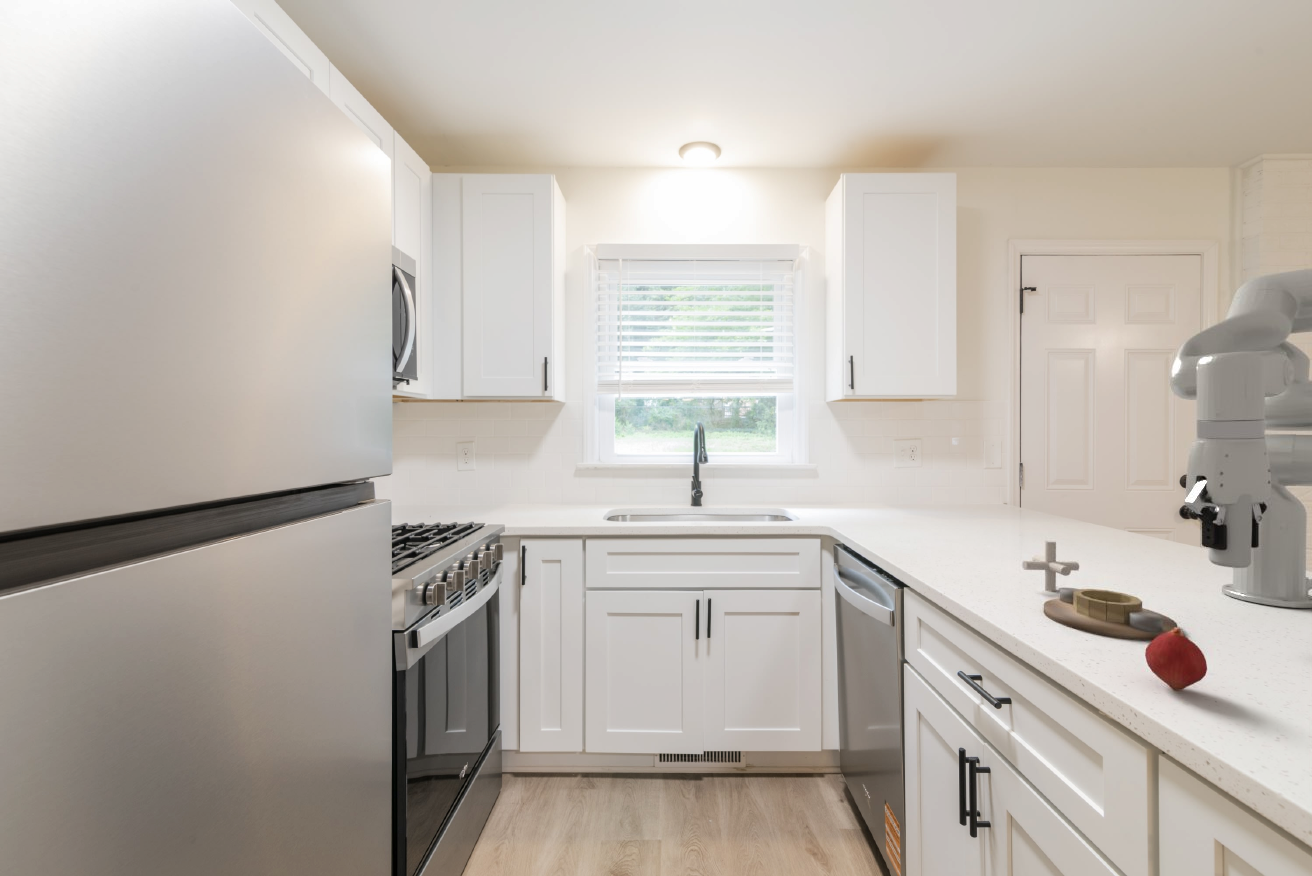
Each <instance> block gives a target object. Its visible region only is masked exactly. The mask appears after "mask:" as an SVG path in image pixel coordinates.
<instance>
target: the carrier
mask: <svg viewBox="0 0 1312 876" xmlns="http://www.w3.org/2000/svg"><path fill="white" fill-rule="evenodd" d="M1043 613H1044V615H1045V616H1046V617H1047V618H1048V619H1049V620H1052V621H1053V622H1056V623H1058V624H1060V625H1063V626H1065V625H1066V627H1068V626H1069V628H1071V627H1072V629H1074V630H1075V629H1076V630H1078V629H1079V631H1082V632H1086V633H1090V634H1096V635H1100V636H1106V637H1111V638H1118V639H1123V640H1124V639H1125V640H1134V639H1137V641H1153V640H1154V639H1155V638H1156V637H1158V636H1159V635H1161V634H1164V633H1167V632H1169V631H1171V630H1173V628H1178V623H1177V622H1176V621H1175V620H1173V619H1172V618H1171V617H1168V616H1166V615H1164V614H1162V613H1159V612H1156V611H1153V610H1149V609H1147V608H1143V600H1141V599H1140V598H1139V597H1137V596H1133V595H1131V594H1127V593H1123V592H1119V591H1113V590H1107V589H1098V588H1097V589H1096V588H1081V589H1080V588H1075V587H1060V588H1059V597H1058V598H1052V599H1049V600H1046V601H1045V602H1044V603H1043ZM1138 639H1140V640H1138Z"/></svg>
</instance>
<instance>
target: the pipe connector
mask: <svg viewBox="0 0 1312 876" xmlns="http://www.w3.org/2000/svg"><path fill="white" fill-rule="evenodd" d="M1044 543H1045V545H1044V557H1042V556H1041V555H1037V554H1036V555H1034V556H1033V557H1032V560H1023V561H1022V564H1021V565H1022V566H1021V567H1022V568H1023V570H1027V571H1044V590H1045V591H1049V592H1056V590H1057V589H1056V588H1057V585H1056V584H1057V574H1060V575H1061V576H1065V577H1068V576H1069V575H1071V572H1072V571H1079V569H1080V564H1079V562H1078V561H1065V560H1064V561H1063V560H1062V561H1060V560H1059V561H1058V560H1057V541H1054V540H1045V541H1044Z"/></svg>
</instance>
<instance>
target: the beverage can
mask: <svg viewBox="0 0 1312 876" xmlns="http://www.w3.org/2000/svg"><path fill="white" fill-rule="evenodd" d="M1211 500H1212V499H1210V503H1213V502H1212V501H1211ZM1215 509H1216V508H1213V507H1211V508H1210V510H1211V511H1212V512H1213V513H1215ZM1222 524H1223V525H1227V549H1226V550H1217V549H1213V548H1208V547H1207V548H1208V553H1207V554H1208V560H1209V561H1210V562H1211V563H1212V564H1213V565H1216V566H1218V567H1219V566H1220V567H1225V568H1232V569H1233V568H1246V567H1248V566H1249V565H1250V564H1251V539H1252V499H1251V495H1250V494H1243V495H1241V496H1240V497H1239V499H1238V501H1237V503H1236V504H1233V505H1228V506H1227V508H1226V512H1225V516H1224V520H1223V523H1222Z"/></svg>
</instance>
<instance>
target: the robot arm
mask: <svg viewBox="0 0 1312 876" xmlns="http://www.w3.org/2000/svg"><path fill="white" fill-rule="evenodd" d="M1300 333H1312V267H1311V268H1303V269H1298V270H1292V271H1286V272H1285V271H1284V272H1278V273H1271V274H1266V275H1261V276H1259V277H1258V276H1257V277H1255V278H1252V279H1250V280H1248V281H1245V282H1244V283H1243V284H1242V285H1241V286H1240V287H1239V288H1238V289H1237V291H1236V292H1235V294H1234V295H1233V299H1232V301H1231V304H1230V306H1229V308H1228V313H1227V315H1226V317H1225V319H1223V320H1222V321H1219V322H1217V323H1215V324H1213V325H1211V326H1210V327H1208V328H1205V329H1204V330H1202V331H1199V332H1198V333H1196V334H1195V335H1192V336H1191V337H1190V338H1188V339H1186V341H1185V342H1184V343H1183V344H1181V346H1180V348H1179V349H1178V352H1177V354H1176V356H1175V358H1174V360H1173V362H1172V366H1171V369H1170V373H1169V385H1170V388H1171V390H1172V393H1173V394H1175V396H1177V397H1178V398H1181V399H1183V400H1190V401H1194V400H1195V401H1196V440H1194V441H1192V444H1191V448H1190V452H1189V455H1188V459H1187V460H1188V461H1187V467H1186V477H1185V478H1186V480H1185V481H1186V482H1185V495H1186V497H1185V500H1184V506H1186V508H1188V509H1190V510H1191V511H1192V512H1193V514H1194V515H1195V516H1197V520H1198V522H1200V523H1201V545H1202V547H1204V548H1213V549H1217V550H1226V549H1227V525H1223V524H1222V523H1223V520H1224V516H1225V512H1226V508H1227V506H1228V505H1233V504H1236V503H1237V501H1238V499H1239V497H1240V496H1241V495H1243V494H1250V495H1251V499H1252V539H1251V564H1250V565H1249V566H1248V567H1246V568H1232V583H1227V584H1223V585H1222V586H1221V592H1222V593H1223V594H1224V595H1227V596H1229V597H1232V598H1235V599H1239V600H1241V601H1246V602H1250V603H1255V604H1262V605H1266V606H1274V607H1282V608H1294V609H1312V595H1310V594H1309V591H1310V590H1312V578H1309V577H1306V576H1307V523H1308V522H1307V518H1308V517H1307V515H1308V514H1307V509H1306V507H1305V505H1304V504H1303V502H1301V500H1300V499H1298V497H1296V496H1295V495H1294V494H1293V493H1291V492H1290V490H1288V489H1287V488H1286V487H1288V486H1289V487H1290V486H1291V487H1294V486H1295V487H1296V486H1298V487H1299V486H1300V487H1312V434H1295V433H1294V434H1293V433H1291V434H1288V433H1287V434H1283V433H1282V434H1281V433H1280V434H1277V433H1275V434H1271V433H1270V434H1268V433H1267V434H1266V431H1273V432H1274V431H1278V432H1281V431H1282V432H1283V431H1284V432H1293V431H1294V432H1312V379H1310V367H1311V360H1310V358H1309V356H1308V355H1307V354H1306V353H1305V352H1304V351H1303V350H1301V349H1300V348H1299V347H1297V346H1295V345H1294V344H1293V343H1291V342H1289V341H1287V340H1288V338H1289V336H1290V335H1292V334H1300ZM1210 499H1212V500H1211V501H1212V502H1213V503H1210ZM1211 507H1213V508H1216V509H1215V513H1213V512H1212V511H1211V510H1210V508H1211Z"/></svg>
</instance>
